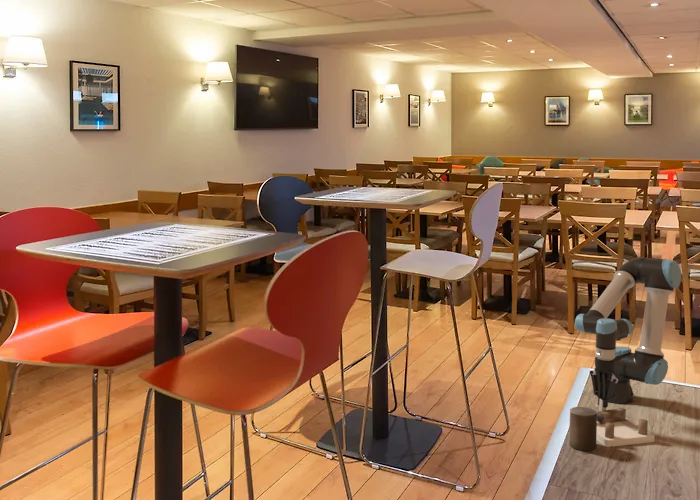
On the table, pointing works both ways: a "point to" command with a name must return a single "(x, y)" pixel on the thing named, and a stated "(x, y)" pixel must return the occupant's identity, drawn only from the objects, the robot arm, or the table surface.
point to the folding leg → (611, 415)
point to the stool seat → (623, 433)
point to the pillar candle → (583, 428)
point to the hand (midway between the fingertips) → (602, 414)
